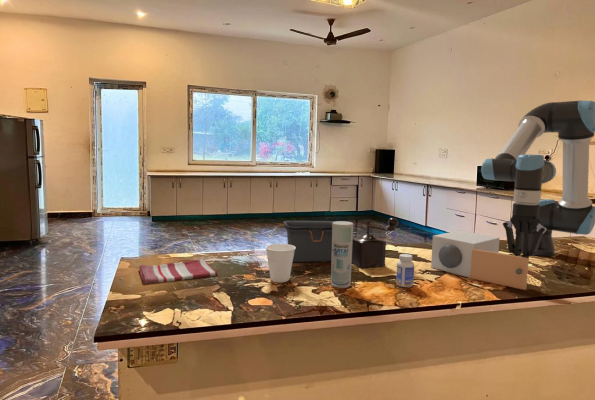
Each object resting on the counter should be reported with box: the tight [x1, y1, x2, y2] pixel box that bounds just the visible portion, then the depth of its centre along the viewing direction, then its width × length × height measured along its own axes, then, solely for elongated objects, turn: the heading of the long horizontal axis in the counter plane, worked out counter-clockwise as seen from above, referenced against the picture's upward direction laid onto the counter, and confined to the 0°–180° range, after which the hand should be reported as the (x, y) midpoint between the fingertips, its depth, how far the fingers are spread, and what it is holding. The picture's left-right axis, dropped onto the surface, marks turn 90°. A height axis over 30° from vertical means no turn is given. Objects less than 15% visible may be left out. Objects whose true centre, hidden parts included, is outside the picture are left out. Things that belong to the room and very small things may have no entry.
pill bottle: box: [395, 253, 415, 288], centre depth 136 cm, size 5×5×10 cm
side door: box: [470, 249, 530, 290], centre depth 138 cm, size 17×2×10 cm, turn 49°
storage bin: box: [283, 220, 334, 263], centre depth 164 cm, size 21×16×14 cm
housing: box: [430, 230, 500, 279], centre depth 156 cm, size 20×16×12 cm
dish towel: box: [139, 259, 219, 285], centre depth 144 cm, size 17×23×3 cm
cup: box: [264, 243, 296, 284], centre depth 138 cm, size 10×10×11 cm
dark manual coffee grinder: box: [351, 217, 399, 269], centre depth 160 cm, size 16×11×18 cm
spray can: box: [330, 220, 354, 289], centre depth 134 cm, size 6×6×20 cm
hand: (520, 275), depth 138 cm, fingers closed
